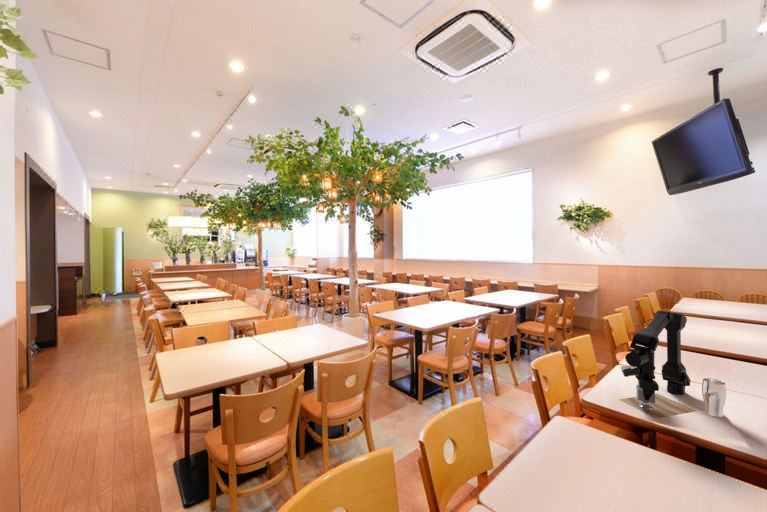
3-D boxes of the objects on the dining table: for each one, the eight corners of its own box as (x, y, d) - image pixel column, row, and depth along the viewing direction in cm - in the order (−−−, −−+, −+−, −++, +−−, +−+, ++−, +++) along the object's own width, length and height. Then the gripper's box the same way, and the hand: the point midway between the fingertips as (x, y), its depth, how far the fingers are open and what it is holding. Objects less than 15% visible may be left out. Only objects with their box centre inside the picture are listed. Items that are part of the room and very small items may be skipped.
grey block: (636, 394, 141) (636, 384, 140) (652, 397, 138) (652, 387, 137) (638, 400, 136) (638, 389, 136) (655, 403, 133) (655, 392, 133)
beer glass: (718, 413, 133) (719, 378, 132) (730, 422, 126) (731, 386, 125) (697, 411, 135) (698, 376, 134) (708, 420, 128) (708, 383, 128)
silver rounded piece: (644, 403, 140) (644, 396, 140) (656, 409, 135) (656, 402, 135) (634, 404, 139) (634, 397, 139) (646, 410, 134) (646, 403, 134)
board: (657, 396, 148) (657, 393, 148) (697, 414, 133) (697, 410, 133) (618, 402, 144) (618, 399, 144) (655, 421, 128) (655, 418, 128)
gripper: (620, 352, 148) (620, 384, 149) (624, 365, 133) (624, 402, 133) (651, 356, 142) (651, 390, 143) (659, 370, 127) (658, 409, 127)
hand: (645, 397), depth 137 cm, fingers closed on grey block, 6 cm apart
